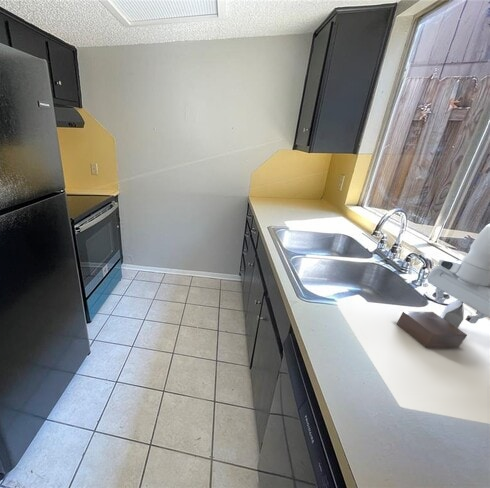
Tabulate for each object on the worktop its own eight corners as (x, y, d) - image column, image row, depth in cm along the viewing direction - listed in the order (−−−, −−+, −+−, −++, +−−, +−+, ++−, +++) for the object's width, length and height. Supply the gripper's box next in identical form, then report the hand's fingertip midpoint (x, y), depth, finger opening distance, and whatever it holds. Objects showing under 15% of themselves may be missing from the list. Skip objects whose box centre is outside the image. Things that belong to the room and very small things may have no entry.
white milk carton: (437, 327, 83) (453, 302, 78) (438, 318, 87) (454, 294, 83) (453, 334, 80) (470, 308, 76) (454, 324, 84) (470, 299, 80)
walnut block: (425, 323, 84) (432, 311, 82) (458, 347, 75) (467, 334, 73) (396, 323, 83) (403, 311, 81) (426, 347, 74) (434, 334, 72)
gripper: (536, 295, 66) (503, 336, 72) (452, 258, 85) (431, 292, 90) (513, 294, 66) (482, 335, 71) (434, 257, 84) (414, 292, 90)
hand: (453, 311), depth 81 cm, fingers open, 8 cm apart
